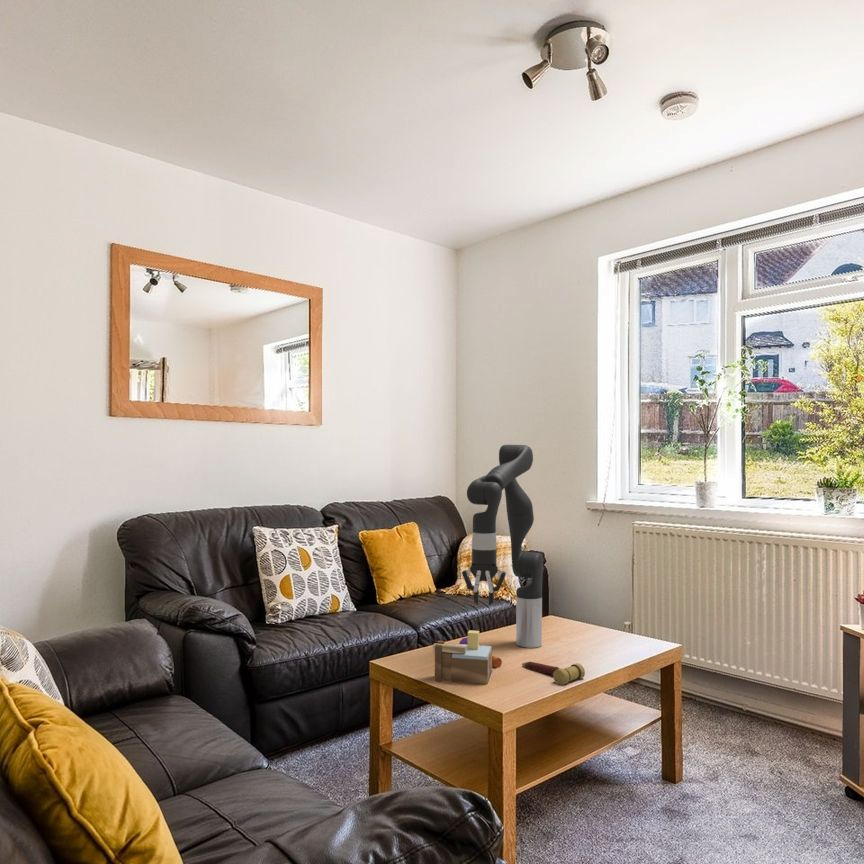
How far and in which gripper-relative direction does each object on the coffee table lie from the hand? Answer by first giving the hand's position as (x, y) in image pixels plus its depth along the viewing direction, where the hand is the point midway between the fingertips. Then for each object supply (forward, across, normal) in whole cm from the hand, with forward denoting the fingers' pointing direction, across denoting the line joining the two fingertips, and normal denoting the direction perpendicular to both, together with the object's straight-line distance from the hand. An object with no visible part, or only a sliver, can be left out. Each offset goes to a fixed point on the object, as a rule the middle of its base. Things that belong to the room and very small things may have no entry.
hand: (483, 604), depth 204 cm
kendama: (+24, +4, -22) cm, 32 cm away
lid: (+17, +4, -4) cm, 18 cm away
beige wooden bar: (+15, +10, 0) cm, 18 cm away
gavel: (+24, -19, -12) cm, 33 cm away
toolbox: (+23, +7, -4) cm, 24 cm away
